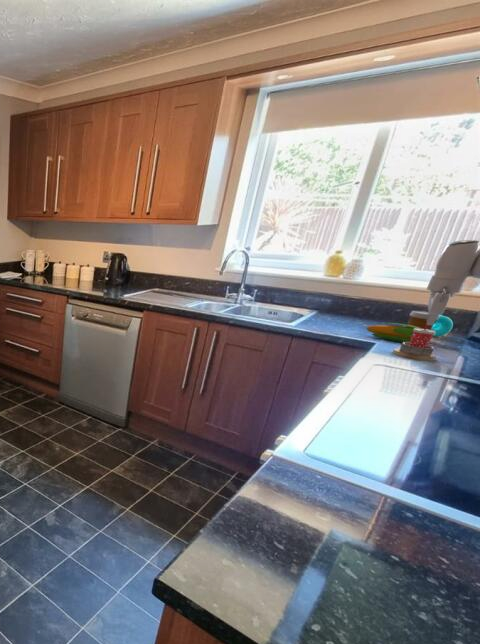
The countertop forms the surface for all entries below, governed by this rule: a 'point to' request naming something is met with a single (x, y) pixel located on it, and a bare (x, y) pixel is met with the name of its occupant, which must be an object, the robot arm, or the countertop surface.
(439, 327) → the turquoise rounded piece
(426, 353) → the stand
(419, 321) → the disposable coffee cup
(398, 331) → the corn
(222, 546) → the countertop surface
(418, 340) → the beverage cup
